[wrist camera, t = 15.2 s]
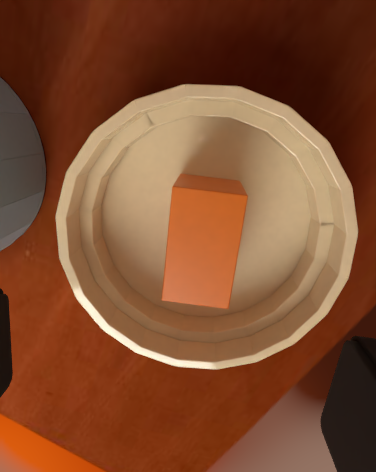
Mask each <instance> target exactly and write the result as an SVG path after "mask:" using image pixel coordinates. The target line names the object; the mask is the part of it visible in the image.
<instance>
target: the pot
mask: <svg viewBox="0 0 376 472" xmlns="http://www.w3.org/2000/svg"><path fill="white" fill-rule="evenodd" d="M45 184H46V164H45V156H44V151H43V147H42V143H41V139H40V136H39V134H38V131H37V129H36V126H35V124H34V122H33V120H32V118H31V116H30V114H29V112H28V110H27V109H26V107H25V106H24V104H23V103H22V101H21V100H20V98H19V97H18V96H17V95H16V93H15V92H14V91H13V90H12V89H11V87H10V86H9V85H8V84H7V83H6V82H5V81H4V80H3V79H2V78H1V77H0V251H1V250H3V249H4V248H6V247H8V246H10V245H11V244H12V243H13V242H14V241H15V240H16V239H17V238H19V237H20V236H21V235H22V234H23V233H24V232H25V231H26V230H27V229H28V227H29V226H30V225H31V224H32V222H33V220H34V219H35V217H36V215H37V213H38V211H39V209H40V206H41V203H42V200H43V196H44V192H45Z"/></svg>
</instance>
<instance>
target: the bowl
mask: <svg viewBox="0 0 376 472" xmlns="http://www.w3.org/2000/svg"><path fill="white" fill-rule="evenodd" d="M180 174H189V175H197V176H205V177H214V178H222V179H230V180H238V181H240V182H241V184H242V186H243V187H244V189H245V191H246V193H247V195H248V200H247V206H246V212H245V217H244V223H243V229H242V235H241V241H240V247H239V252H238V258H237V264H236V270H235V276H234V281H233V287H232V293H231V299H230V305H229V309H223V308H215V307H207V306H200V305H192V304H184V303H177V302H169V301H162V299H161V298H162V288H163V277H164V267H165V257H166V246H167V236H168V225H169V215H170V204H171V194H172V187H173V185H174V183H175V182H176V180H177V178H178V177H179V175H180ZM56 227H57V238H58V249H59V259H60V261H61V264H62V266H63V269H64V271H65V273H66V276H67V278H68V280H69V283H70V285H71V287H72V290H73V292H74V294H75V297H76V299H77V300H78V301H79V302H80V304H81V305H82V306H83V307H84V308H85V310H86V311H87V312H88V313H89V314H90V316H91V317H92V318H93V319H94V320H95V322H96V323H97V324H98V325H99V326H100V328H101V329H102V330H103V331H105V332H106V333H108V334H109V335H111V336H112V337H113V338H115V339H116V340H118V341H119V342H121V343H122V344H124V345H125V346H127V347H128V348H130V349H131V350H132V351H134V352H135V353H138V354H141V355H144V356H146V357H149V358H152V359H155V360H158V361H161V362H164V363H166V364H169V365H172V366H176V367H188V368H201V369H214V370H215V369H222V368H227V367H233V366H238V365H244V364H249V363H255V362H256V361H257V362H258V361H260V360H262V359H264V358H266V357H268V356H270V355H272V354H275V353H277V352H279V351H281V350H283V349H285V348H287V347H289V346H291V345H293V344H294V343H296V342H297V341H298V340H299V339H300V338H302V337H303V336H304V335H305V334H306V333H307V332H308V331H309V330H310V329H312V328H313V327H314V326H315V325H316V324H317V323H318V322H319V321H320V320H322V319H323V318H324V317H325V316H326V315H327V314H328V312H329V310H330V309H331V307H332V305H333V304H334V302H335V300H336V298H337V297H338V295H339V293H340V292H341V290H342V288H343V287H344V285H345V283H346V282H347V280H348V278H349V274H350V269H351V265H352V260H353V255H354V251H355V246H356V242H357V237H358V226H357V218H356V210H355V203H354V195H353V188H352V185H351V182H350V181H349V179H348V177H347V175H346V173H345V171H344V169H343V167H342V165H341V163H340V162H339V160H338V158H337V156H336V154H335V152H334V150H333V148H332V146H331V144H330V143H329V142H328V140H327V139H326V138H325V137H324V136H322V135H321V134H320V133H319V132H318V131H317V130H316V129H315V128H314V127H312V126H311V125H310V124H309V123H308V122H307V121H306V120H305V119H304V118H302V117H301V116H300V115H299V114H298V113H297V112H296V111H295V110H294V109H292V108H291V107H289V106H288V105H286V104H283V103H281V102H279V101H276V100H274V99H271V98H269V97H266V96H264V95H261V94H259V93H256V92H254V91H251V90H249V89H246V88H244V87H241V86H232V85H204V84H185V85H184V84H182V85H179V86H176V87H173V88H170V89H166V90H163V91H160V92H157V93H154V94H151V95H147V96H144V97H141V98H138V99H135V100H134V101H131V102H130V103H129V104H127V105H126V106H125V107H123V108H122V109H121V110H120V111H118V112H117V113H116V114H114V115H113V116H112V117H110V118H109V119H108V120H106V121H105V122H104V123H102V124H101V125H100V126H98V127H97V128H96V129H95V130H94V131H93V132H92V133H91V134H90V136H89V137H88V139H87V140H86V142H85V144H84V145H83V147H82V148H81V150H80V151H79V153H78V154H77V156H76V157H75V159H74V160H73V162H72V163H71V165H70V167H69V168H68V170H67V172H66V175H65V179H64V183H63V187H62V191H61V195H60V199H59V203H58V208H57V212H56Z"/></svg>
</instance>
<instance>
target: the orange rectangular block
mask: <svg viewBox="0 0 376 472" xmlns="http://www.w3.org/2000/svg"><path fill="white" fill-rule="evenodd" d="M247 200H248V195H247V193H246V191H245V189H244V187H243V186H242V184H241V182H240V181H238V180H230V179H222V178H214V177H205V176H197V175H189V174H180V175H179V177H178V178H177V180H176V182H175V183H174V185H173V187H172V194H171V204H170V215H169V225H168V236H167V246H166V257H165V267H164V277H163V288H162V298H161V299H162V301H169V302H177V303H184V304H192V305H200V306H207V307H215V308H223V309H229V305H230V299H231V293H232V287H233V281H234V276H235V270H236V264H237V258H238V252H239V247H240V241H241V235H242V229H243V223H244V217H245V212H246V206H247Z"/></svg>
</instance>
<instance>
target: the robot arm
mask: <svg viewBox="0 0 376 472" xmlns="http://www.w3.org/2000/svg"><path fill="white" fill-rule="evenodd" d="M11 380H12V354H11V336H10V318H9V300H8V296H7V295H6V294H3V291H2V289H0V397H1V396H2V395H3V393H4V392H5V391H6V389H7V388H8V386H9V385H10V382H11ZM321 429H322V433H323V435H324V438H325V441H326V443H327V446H328V449H329V451H330V454H331V456H332V459H333V462H334V464H335V467H336V469H337V472H376V339H374V338H366V337H360V336H354V337H352V338H351V340H350V341H348V340H347V341H346V342H345V343H344V345H343V348H342V351H341V354H340V358H339V361H338V364H337V367H336V370H335V374H334V377H333V380H332V383H331V387H330V390H329V393H328V396H327V400H326V403H325V406H324V409H323V412H322V416H321Z"/></svg>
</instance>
